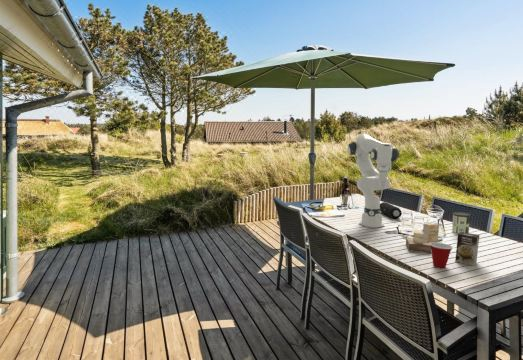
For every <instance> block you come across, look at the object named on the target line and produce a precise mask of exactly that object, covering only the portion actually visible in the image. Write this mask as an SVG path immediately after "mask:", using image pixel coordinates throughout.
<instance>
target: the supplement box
mask: <svg viewBox="0 0 523 360" xmlns="http://www.w3.org/2000/svg"><path fill="white" fill-rule="evenodd" d="M422 227H423V228H422V231H423V239H427V240H428V241H429V243H431V242H436V243H439V242H438V241H439V229H440V223H437V222H427V223H426V222H425V223H423V226H422Z"/></svg>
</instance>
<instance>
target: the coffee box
mask: <svg viewBox="0 0 523 360" xmlns="http://www.w3.org/2000/svg"><path fill="white" fill-rule="evenodd" d="M456 240H457V241H456V249H455V250H456V252H455V262H456V263H461V264H463V265H469V266H472V267H475V266H476V265H477V261H478V250H479V242H480V235H479V234H475V233H470V232H469V233H465V232H459V233H458V234H457V239H456Z"/></svg>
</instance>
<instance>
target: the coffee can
mask: <svg viewBox="0 0 523 360" xmlns="http://www.w3.org/2000/svg"><path fill="white" fill-rule="evenodd" d="M452 214H453V215H452V228H451V232H452V234H454V235H455V234H456V235H458V233H459V232H465V233H470V223H471V222H470V221H471V220H470V218H471V214H470V213H468V212H462V211H461V212H459V211H454V212H452Z"/></svg>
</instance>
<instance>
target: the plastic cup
mask: <svg viewBox="0 0 523 360" xmlns="http://www.w3.org/2000/svg"><path fill="white" fill-rule="evenodd" d="M430 246H431V259H432V265H433V266H434V267H435V268H437V269H445V268H446V267H447V265H448V264H447V263H448V261H449V257H450V253H451V251H452V250H453V248H454V246H452V245H450V244H447V243H443V242H438V243H436V242H431V243H430Z"/></svg>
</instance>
